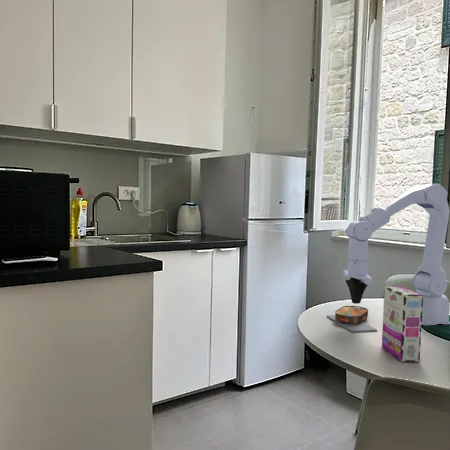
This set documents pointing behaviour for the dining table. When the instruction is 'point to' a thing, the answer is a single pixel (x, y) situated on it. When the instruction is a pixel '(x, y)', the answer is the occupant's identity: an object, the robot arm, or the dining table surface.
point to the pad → (353, 326)
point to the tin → (351, 314)
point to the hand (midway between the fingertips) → (356, 303)
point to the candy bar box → (402, 323)
